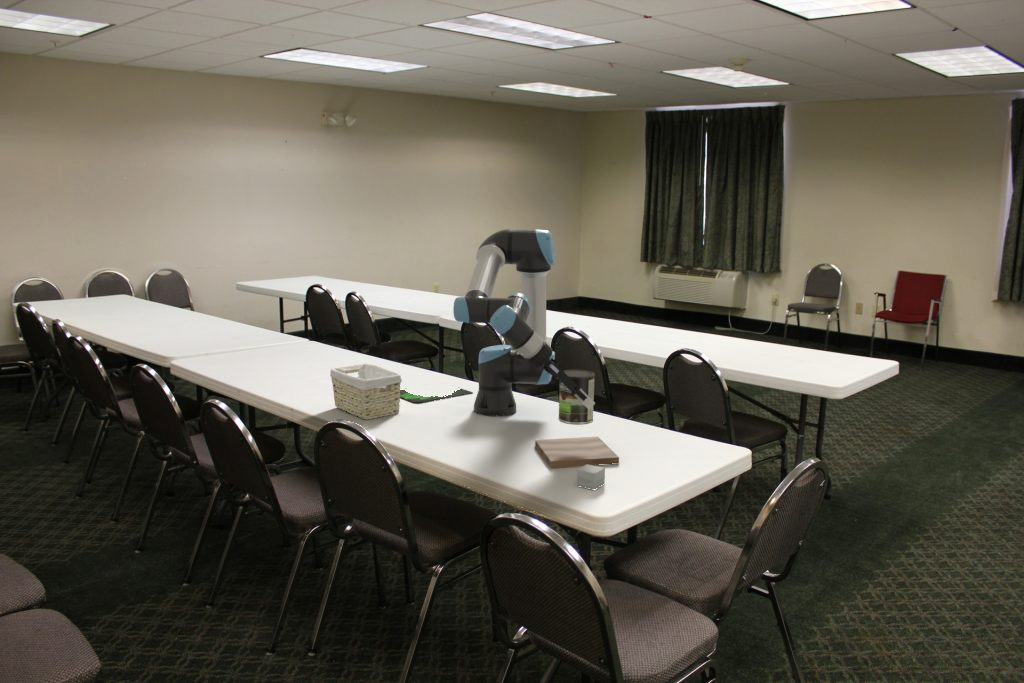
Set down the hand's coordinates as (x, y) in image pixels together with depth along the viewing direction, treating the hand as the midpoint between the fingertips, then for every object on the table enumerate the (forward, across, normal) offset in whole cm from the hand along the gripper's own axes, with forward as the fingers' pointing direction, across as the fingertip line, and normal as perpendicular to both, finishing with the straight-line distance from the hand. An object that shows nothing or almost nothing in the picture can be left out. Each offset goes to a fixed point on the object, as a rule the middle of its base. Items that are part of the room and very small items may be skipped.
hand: (586, 401), depth 230 cm
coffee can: (+2, 0, -6) cm, 6 cm away
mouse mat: (-15, -83, -38) cm, 92 cm away
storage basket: (-33, -61, -56) cm, 89 cm away
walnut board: (+10, -1, -14) cm, 17 cm away
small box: (+8, +24, -16) cm, 30 cm away
